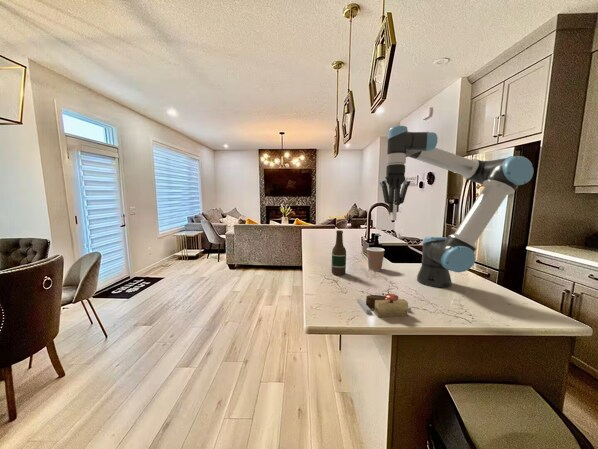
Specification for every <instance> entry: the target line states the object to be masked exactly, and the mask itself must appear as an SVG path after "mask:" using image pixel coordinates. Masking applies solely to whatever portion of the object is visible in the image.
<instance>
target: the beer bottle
mask: <svg viewBox="0 0 598 449" xmlns="http://www.w3.org/2000/svg"><path fill="white" fill-rule="evenodd" d="M335 233H336V236H335V244H334V246H333V247H332V251H331V273H332V275H334V276H344V275H345V274H346V271H347V250H346V247H345V246H344V238H343V237H344V236H343V233H344V231H343V230H339V229H337V230H336V231H335Z"/></svg>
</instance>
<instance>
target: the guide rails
mask: <svg viewBox="0 0 598 449" xmlns="http://www.w3.org/2000/svg"><path fill="white" fill-rule="evenodd" d="M398 299H400V298H399V297H398ZM356 302H357V304H358V305H359V306H360V307H361V309H362V310H363V311H364V313H365V314H367V315H368V314H371V312H372V309H370V308H369V307H368V306H367V305H366V302H365V301H364V300H363V299H362V298H357V299H356ZM411 311H412V307H411V306H410V305H408V313H411Z"/></svg>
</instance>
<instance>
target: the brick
mask: <svg viewBox="0 0 598 449" xmlns="http://www.w3.org/2000/svg"><path fill="white" fill-rule="evenodd" d="M375 300H388V299H386V298H385V295H379V294H369V295H366V297H365V304H366V305H367V306H368V307H369V308H370V309H371V310H375Z"/></svg>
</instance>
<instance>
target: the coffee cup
mask: <svg viewBox="0 0 598 449" xmlns="http://www.w3.org/2000/svg"><path fill="white" fill-rule="evenodd" d="M366 251H367V264H368V269H369V270H371V271H376V272H377V271H381V270H382V267H383V261H384V255H385V251H386V250H385V249H384V248H382V247H367V248H366Z"/></svg>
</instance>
